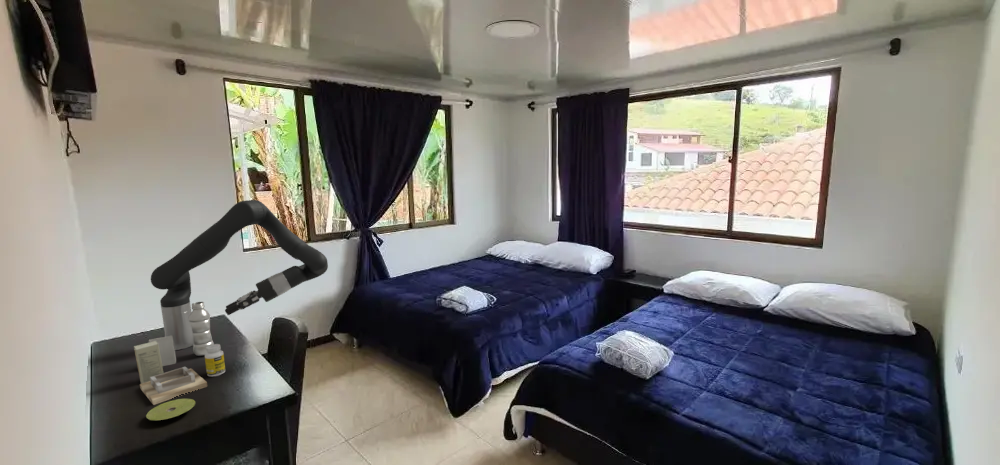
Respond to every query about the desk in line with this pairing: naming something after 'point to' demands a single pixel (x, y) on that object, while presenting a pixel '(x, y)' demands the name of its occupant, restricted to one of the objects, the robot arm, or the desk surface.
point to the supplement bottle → (214, 360)
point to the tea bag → (166, 350)
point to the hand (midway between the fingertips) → (226, 310)
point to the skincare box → (148, 360)
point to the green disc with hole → (170, 409)
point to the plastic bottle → (200, 328)
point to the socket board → (172, 384)
